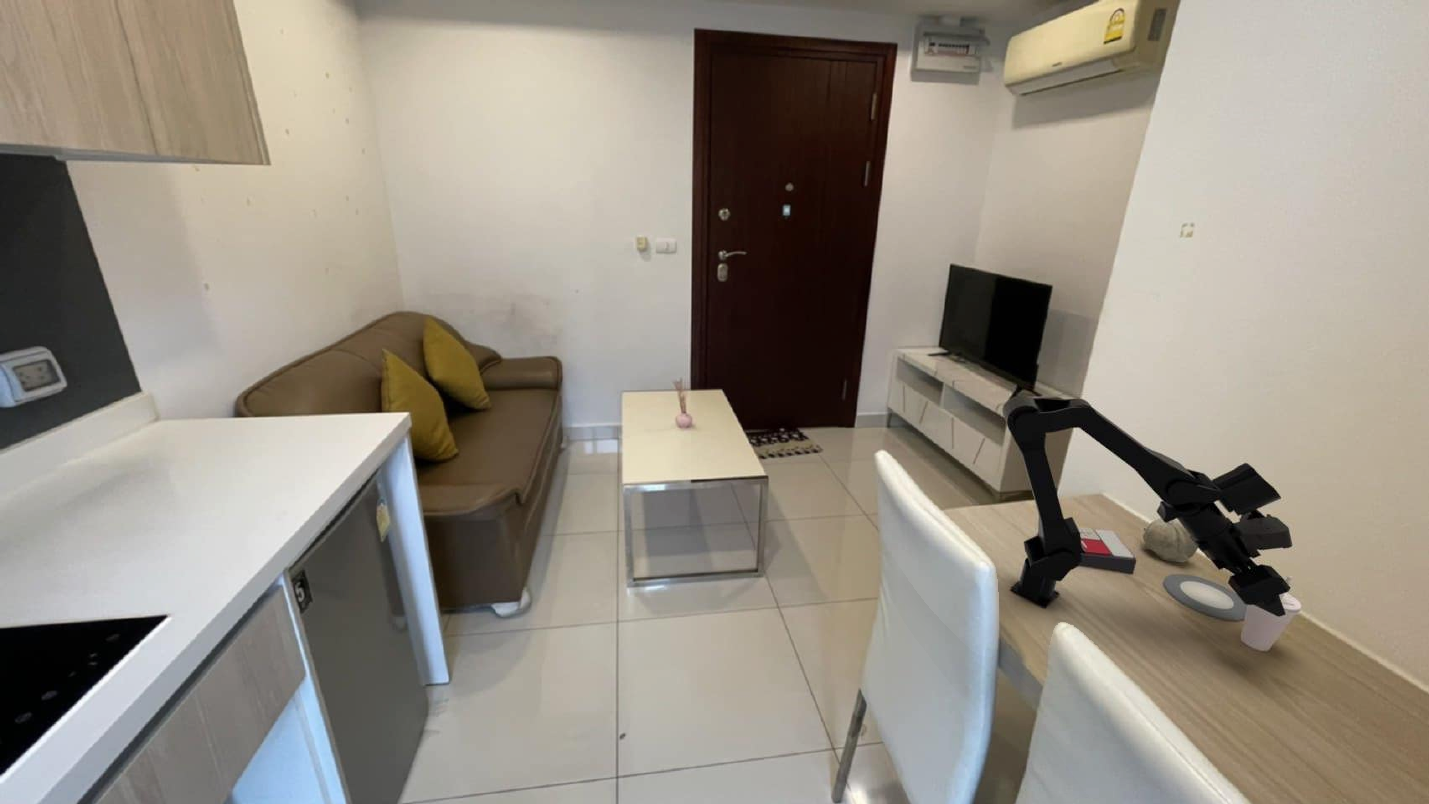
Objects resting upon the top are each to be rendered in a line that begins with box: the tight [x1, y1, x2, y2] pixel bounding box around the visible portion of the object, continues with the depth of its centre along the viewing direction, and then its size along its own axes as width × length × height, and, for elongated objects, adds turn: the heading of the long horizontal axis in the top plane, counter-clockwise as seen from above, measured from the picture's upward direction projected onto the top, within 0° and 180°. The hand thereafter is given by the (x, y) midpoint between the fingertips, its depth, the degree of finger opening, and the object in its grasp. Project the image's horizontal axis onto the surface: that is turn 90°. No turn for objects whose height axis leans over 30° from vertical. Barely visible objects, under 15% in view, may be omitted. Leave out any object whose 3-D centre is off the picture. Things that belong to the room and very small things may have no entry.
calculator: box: [1037, 526, 1137, 575], centre depth 121 cm, size 11×4×15 cm
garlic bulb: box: [1142, 517, 1199, 563], centre depth 120 cm, size 9×8×10 cm
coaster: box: [1162, 573, 1248, 622], centre depth 109 cm, size 13×13×1 cm
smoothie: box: [1240, 575, 1302, 652], centre depth 95 cm, size 6×6×14 cm
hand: (1266, 597), depth 95 cm, fingers open, 9 cm apart
